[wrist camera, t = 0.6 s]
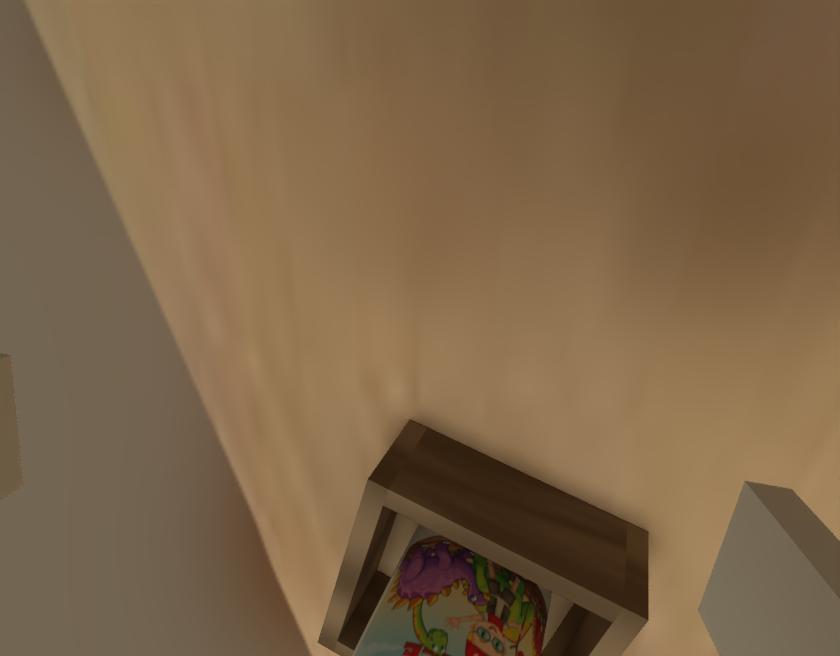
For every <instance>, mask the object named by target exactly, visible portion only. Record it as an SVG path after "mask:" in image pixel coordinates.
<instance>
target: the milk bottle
mask: <svg viewBox="0 0 840 656" xmlns="http://www.w3.org/2000/svg"><path fill="white" fill-rule="evenodd" d="M551 594H552V591H550V590H548V589H546V588H544V587H542V586H540V585H538V584H536V583H534V582H532V581H530V580H528V579H526V578H524V577H522V576H521V575H519V574H517V573H515V572H513V571H511V570H509V569H507V568H505V567H503V566H501V565H499V564H497V563H495V562H493V561H491V560H489V559H487V558H485V557H483V556H481V555H479V554H477V553H475V552H473V551H472V550H470V549H468V548H466V547H464V546H462V545H460V544H458V543H456V542H454V541H452V540H450V539H448V538H446V537H444V536H442V535H440V534H438V533H436V532H434V531H432V530H430V529H428V528H426V527H424V526H423V525H421V524H420V525H419V526H418V528H417V530H416V532H415V533H414V535H413V537H412V539H411V541H410V542H409V544H408V546H407V548H406V550H405V552H404V554H403V556H402V558H401V560H400V562H399V564H398V566H397V568H396V569H395V571H394V573H393V575H392V577H391V579H390V581H389V583H388V585H387V587H386V589H385V591H384V593H383V595H382V597H381V599H380V601H379V603H378V605H377V607H376V608H375V610H374V612H373V614H372V616H371V618H370V620H369V622H368V624H367V626H366V628H365V630H364V632H363V634H362V636H361V638H360V640H359V642H358V644H357V646H356V648H355V650H354V652H353V654H352V656H540V655H541V649H542V644H543V639H544V633H545V628H546V622H547V617H548V612H549V606H550V601H551Z"/></svg>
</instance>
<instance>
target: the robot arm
mask: <svg viewBox="0 0 840 656" xmlns="http://www.w3.org/2000/svg"><path fill="white" fill-rule="evenodd" d="M22 485H23V476H22V466H21V456H20V446H19V436H18V426H17V416H16V406H15V396H14V386H13V376H12V367H11V356H10V355H7V354H1V353H0V501H1V500H2V499H4V498H5V497H7V496H8V495H10V494H11V493H12V492H14V491H15V490H16V489H18V488H19V487H20V486H22ZM698 611H699V613H700V615H701V617H702V619H703V621H704V624H705V626H706V628H707V630H708V632H709V634H710V636H711V638H712V640H713V643H714V645H715V647H716V649H717V651H718V653H719V655H720V656H840V541H839V540H838V539H837V538H836V537H835V536H834V534H833V533H832V532H831V531H830V530H829V529H828V528H827V527H826V526H825V525H824V524H823V523H822V521H821V520H820V519H819V518H818V517H817V516H816V515H815V514H814V513H813V512H812V511H811V510H810V508H809V507H808V506H807V505H806V504H805V503H804V502H803V501H802V500H801V499H800V498H799V497H798V495H797V494H796V493H795V492H794V491H793V490H792V489H788V488H783V487H777V486H771V485H765V484H759V483H753V482H748V481H745V482H744V485H743V488H742V490H741V493H740V496H739V499H738V501H737V504H736V507H735V510H734V512H733V515H732V518H731V521H730V523H729V526H728V529H727V532H726V534H725V537H724V540H723V543H722V545H721V548H720V551H719V554H718V557H717V559H716V562H715V565H714V568H713V570H712V573H711V576H710V579H709V581H708V584H707V587H706V590H705V592H704V595H703V598H702V601H701V603H700V606H699V609H698Z"/></svg>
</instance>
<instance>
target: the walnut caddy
mask: <svg viewBox="0 0 840 656" xmlns="http://www.w3.org/2000/svg"><path fill="white" fill-rule="evenodd" d="M397 513H399V514H401V515H403V516H405V517H407V518H409V519H411V520H413V521H415V522H417V523H419V524H421V525H423V526H424V527H426V528H428V529H430V530H432V531H434V532H436V533H438V534H440V535H442V536H444V537H446V538H448V539H450V540H452V541H454V542H456V543H458V544H460V545H462V546H464V547H466V548H468V549H470V550H472V551H473V552H475V553H477V554H479V555H481V556H483V557H485V558H487V559H489V560H491V561H493V562H495V563H497V564H499V565H501V566H503V567H505V568H507V569H509V570H511V571H513V572H515V573H517V574H519V575H521V576H522V577H524V578H526V579H528V580H530V581H532V582H534V583H536V584H538V585H540V586H542V587H544V588H546V589H548V590H550V591H552V592H554V593H556V594H558V595H560V596H562V597H564V598H566V599H568V600H570V601H571V602H573V603H575V604H574V605H573V607H572V608H571V610H570V611H569V613H568V614H567V616H566V617H565V619H564V620H563V622H562V623H561V625H560V626H559V628H558V629H557V631H556V633H555V634H554V636H553V637H552V639H551V640H550V642H549V643H548V645H547V646H546V648H545V649H544V651H543V652H542V654H541V655H540V656H621V655H622V654H623V652H624V651H625V650H626V648H627V647H628V646H629V645H630V643H631V642H632V641H633V639H634V638H635V637H636V636H637V634H638V633H639V632H640V630H641V629H642V628H643V627H644V625H645V624H646V623H647V621H648V532H647V531H645V530H642V529H640V528H638V527H636V526H634V525H632V524H630V523H628V522H626V521H623V520H621V519H619V518H617V517H615V516H613V515H611V514H609V513H606V512H604V511H602V510H600V509H598V508H596V507H594V506H592V505H590V504H587V503H585V502H583V501H581V500H579V499H577V498H575V497H573V496H570V495H568V494H566V493H564V492H562V491H560V490H558V489H556V488H554V487H551V486H549V485H547V484H545V483H543V482H541V481H539V480H537V479H534V478H532V477H530V476H528V475H526V474H524V473H522V472H520V471H518V470H515V469H513V468H511V467H509V466H507V465H505V464H503V463H501V462H498V461H496V460H494V459H492V458H490V457H488V456H486V455H484V454H481V453H479V452H477V451H475V450H473V449H471V448H469V447H467V446H465V445H462V444H460V443H458V442H456V441H454V440H452V439H450V438H448V437H445V436H443V435H441V434H439V433H437V432H435V431H433V430H431V429H429V428H426V427H424V426H422V425H420V424H418V423H416V422H414V421H412V420H409V421H408V423H407V424H406V426H405V427H404V428H403V430H402V431H401V433H400V434H399V436H398V437H397V438H396V440H395V441H394V443H393V444H392V446H391V447H390V448H389V450H388V451H387V453H386V454H385V456H384V457H383V458H382V460H381V461H380V463H379V464H378V466H377V467H376V468H375V470H374V471H373V473H372V474H371V476H370V477H369V478H368V481H367V484H366V487H365V490H364V494H363V497H362V500H361V503H360V507H359V510H358V513H357V516H356V520H355V523H354V526H353V529H352V533H351V536H350V539H349V542H348V546H347V549H346V552H345V555H344V559H343V562H342V565H341V568H340V572H339V575H338V578H337V581H336V585H335V588H334V591H333V594H332V598H331V601H330V604H329V607H328V611H327V614H326V617H325V620H324V624H323V627H322V630H321V633H320V637H319V640H318V643H319V644H321V645H323V646H325V647H326V648H328V649H330V650H332V651H333V652H335V653H337V654H338V655H340V656H352V654H353V652H354V650H355V648H356V646H357V644H358V642H359V640H360V638H361V636H362V634H363V632H364V630H365V628H366V626H367V624H368V622H369V620H370V618H371V616H372V614H373V612H374V610H375V608H376V607H377V605H378V603H379V601H380V599H381V597H382V595H383V593H384V591H385V589H386V587H387V585H388V583H389V581H390V579H391V578H389V577H388V576H386V575H384V574H382V573H380V572H378V571H376V570H377V567H378V564H379V562H380V559H381V556H382V553H383V550H384V548H385V545H386V542H387V539H388V537H389V534H390V531H391V528H392V525H393V523H394V520H395V517H396V514H397Z"/></svg>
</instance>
